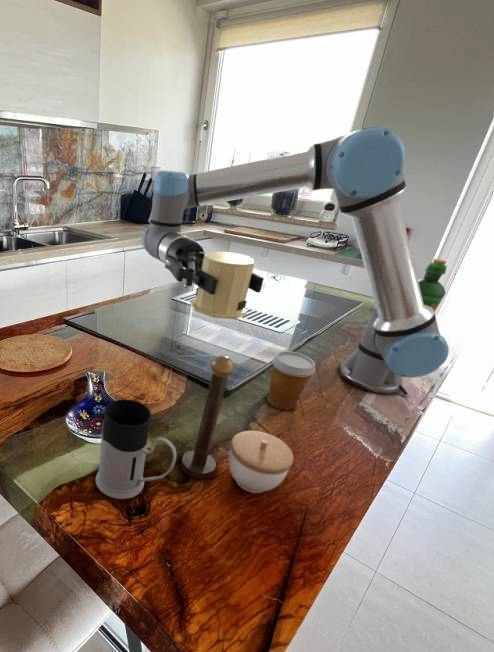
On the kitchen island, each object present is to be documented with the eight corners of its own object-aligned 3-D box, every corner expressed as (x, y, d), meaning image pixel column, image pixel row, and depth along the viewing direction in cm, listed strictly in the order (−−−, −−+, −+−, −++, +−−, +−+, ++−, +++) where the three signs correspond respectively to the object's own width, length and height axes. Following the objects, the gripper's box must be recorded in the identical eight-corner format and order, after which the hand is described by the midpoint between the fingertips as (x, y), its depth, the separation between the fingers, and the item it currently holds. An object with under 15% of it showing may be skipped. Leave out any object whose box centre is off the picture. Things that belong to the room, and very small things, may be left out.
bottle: (424, 350, 137) (469, 266, 123) (393, 348, 137) (434, 263, 122) (406, 337, 146) (445, 257, 132) (376, 335, 146) (413, 254, 131)
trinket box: (272, 512, 71) (289, 471, 66) (214, 485, 75) (225, 445, 70) (286, 476, 79) (302, 438, 74) (233, 454, 83) (244, 416, 78)
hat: (254, 310, 83) (267, 260, 77) (227, 323, 76) (240, 268, 71) (209, 296, 88) (219, 248, 83) (181, 306, 82) (190, 254, 76)
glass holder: (116, 457, 79) (124, 391, 72) (178, 496, 72) (194, 427, 64) (85, 480, 73) (89, 411, 66) (149, 525, 66) (162, 454, 58)
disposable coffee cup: (303, 416, 97) (321, 372, 91) (262, 409, 98) (276, 365, 92) (297, 396, 105) (312, 354, 99) (259, 389, 106) (272, 347, 100)
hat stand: (220, 468, 79) (252, 358, 67) (202, 484, 75) (232, 370, 63) (193, 451, 83) (217, 344, 70) (174, 466, 79) (197, 355, 66)
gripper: (219, 269, 99) (280, 303, 81) (134, 271, 91) (181, 308, 74) (226, 237, 95) (291, 264, 77) (138, 236, 87) (188, 266, 70)
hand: (237, 286), depth 75 cm, fingers closed on hat, 9 cm apart
